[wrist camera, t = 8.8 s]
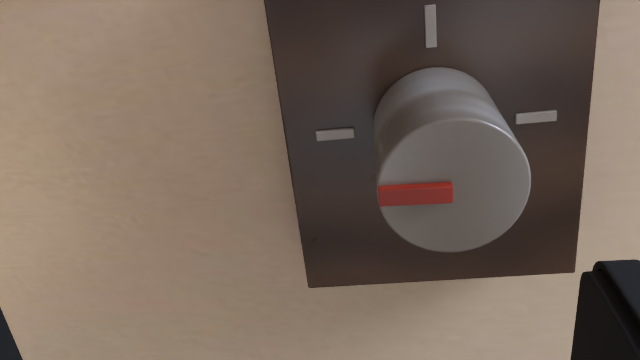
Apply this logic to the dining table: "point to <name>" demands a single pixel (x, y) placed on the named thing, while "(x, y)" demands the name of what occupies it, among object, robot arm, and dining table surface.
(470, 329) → the dining table surface
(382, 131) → the knob
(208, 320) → the dining table surface
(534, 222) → the dial panel
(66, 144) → the dining table surface
